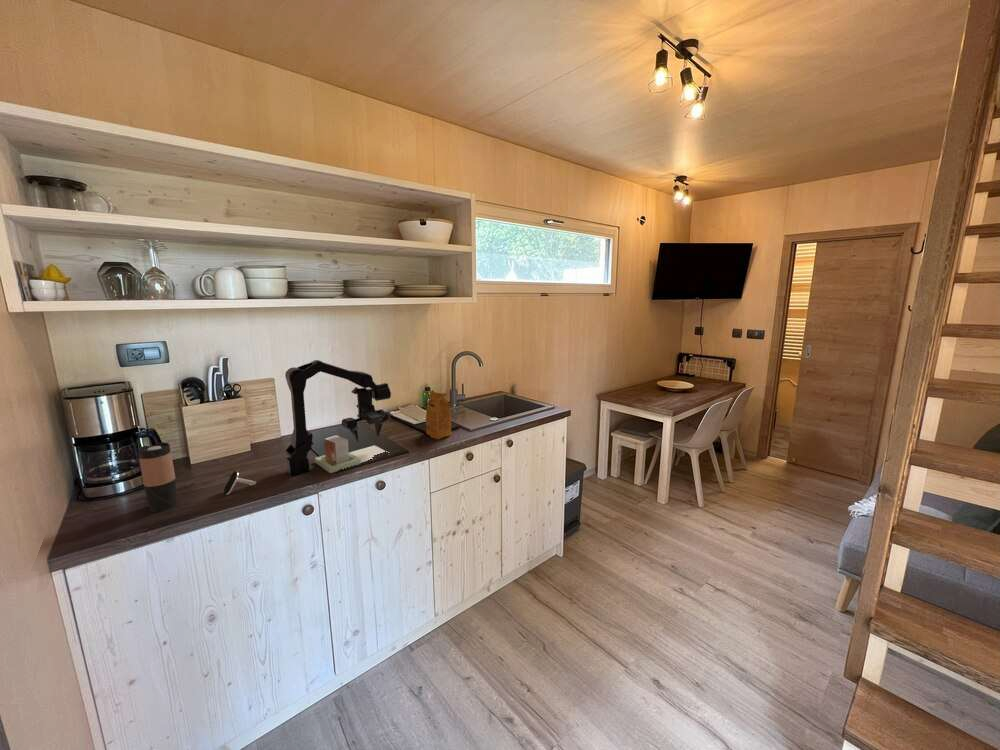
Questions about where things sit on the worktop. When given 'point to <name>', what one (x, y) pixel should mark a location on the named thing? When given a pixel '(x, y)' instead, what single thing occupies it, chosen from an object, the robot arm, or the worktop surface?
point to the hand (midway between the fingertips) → (367, 438)
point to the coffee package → (438, 416)
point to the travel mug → (158, 476)
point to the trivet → (367, 453)
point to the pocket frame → (322, 462)
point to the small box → (336, 450)
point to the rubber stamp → (233, 480)
